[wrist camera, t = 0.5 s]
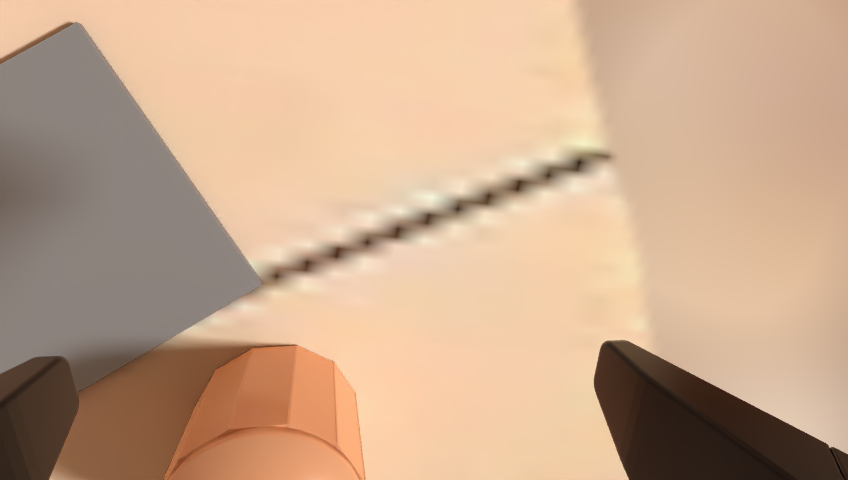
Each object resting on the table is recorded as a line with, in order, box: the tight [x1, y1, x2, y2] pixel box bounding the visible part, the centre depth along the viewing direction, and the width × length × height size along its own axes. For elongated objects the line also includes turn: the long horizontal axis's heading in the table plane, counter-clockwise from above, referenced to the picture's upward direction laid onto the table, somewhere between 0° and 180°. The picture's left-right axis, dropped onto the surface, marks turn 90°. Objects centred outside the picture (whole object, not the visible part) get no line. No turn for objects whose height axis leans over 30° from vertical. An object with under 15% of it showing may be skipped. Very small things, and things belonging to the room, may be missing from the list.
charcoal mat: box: [0, 22, 262, 393], centre depth 21 cm, size 14×12×1 cm
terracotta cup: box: [163, 345, 366, 480], centre depth 21 cm, size 7×7×7 cm
